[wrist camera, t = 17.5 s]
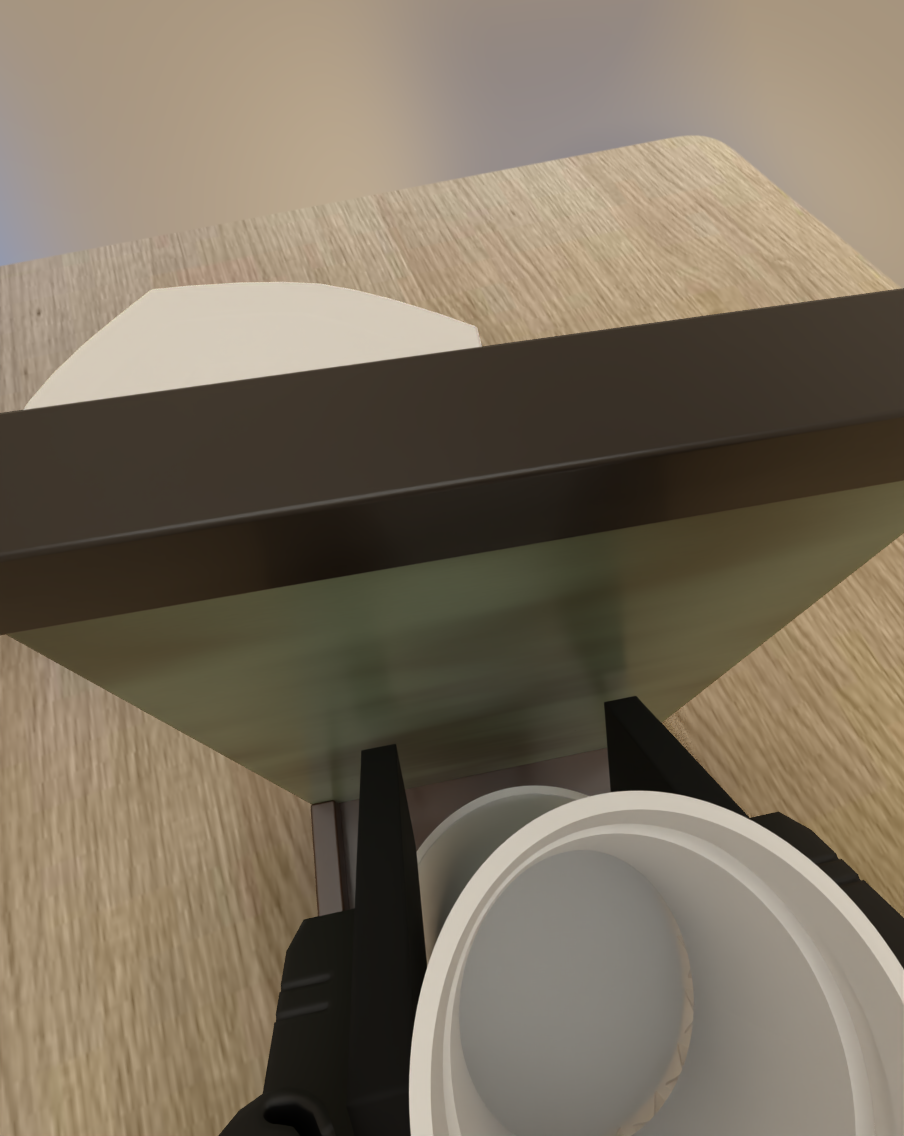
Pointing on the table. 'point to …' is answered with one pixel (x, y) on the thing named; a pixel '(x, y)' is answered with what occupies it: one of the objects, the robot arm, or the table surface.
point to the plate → (245, 338)
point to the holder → (455, 544)
